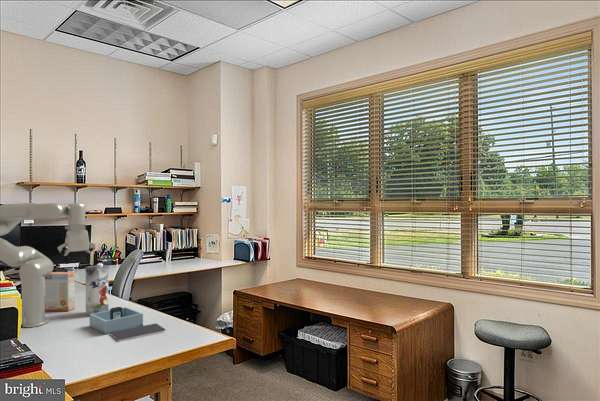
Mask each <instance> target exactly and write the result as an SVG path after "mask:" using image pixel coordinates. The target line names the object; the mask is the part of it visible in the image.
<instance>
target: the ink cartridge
mask: <svg viewBox="0 0 600 401" xmlns="http://www.w3.org/2000/svg"><path fill="white" fill-rule="evenodd" d="M122 308H123V307H121V306H116V307H111V308H110V309H109V310H110V320H112V319H117V318H121V317H122Z"/></svg>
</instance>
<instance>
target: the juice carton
mask: <svg viewBox="0 0 600 401" xmlns="http://www.w3.org/2000/svg"><path fill="white" fill-rule="evenodd" d="M109 267H110V266H109V265H107V264H103V263H102V262H101V263H97V264H96V265H93V266H92V265H90V266H85V267H84V271H85V314H86V315H87V316H90V314H93V313H98V312H103V311H108V310H109Z"/></svg>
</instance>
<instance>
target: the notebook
mask: <svg viewBox="0 0 600 401" xmlns="http://www.w3.org/2000/svg"><path fill="white" fill-rule="evenodd" d="M162 333H166V329H165V328H164V326H162V325H159V323H151V324H146V325H143V326H140V327H135V328H130V329H124V330H119V331H114V332H110V334H109V335H111V336H112V337H113V338H114V339H115V340H116V341H117V342H123V341H128V340H134V339H138V338H142V337H143V338H144V337H149V336H153V335H158V334H162Z"/></svg>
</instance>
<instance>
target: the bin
mask: <svg viewBox="0 0 600 401" xmlns="http://www.w3.org/2000/svg"><path fill="white" fill-rule="evenodd" d="M140 326H144V313H143V312H141V311H137V310H136V309H132V308H130V307H127V306H124V307H122V317H121V318H117V319H112V320H110V309H108V311H103V312H98V313H93V314H90V315H89V328H91V329H94V330H96V331H98V332H99V333H101V334H103V335H105V336H106V335H111V334H110V332H114V331H119V330H124V329H130V328H135V327H140Z"/></svg>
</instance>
